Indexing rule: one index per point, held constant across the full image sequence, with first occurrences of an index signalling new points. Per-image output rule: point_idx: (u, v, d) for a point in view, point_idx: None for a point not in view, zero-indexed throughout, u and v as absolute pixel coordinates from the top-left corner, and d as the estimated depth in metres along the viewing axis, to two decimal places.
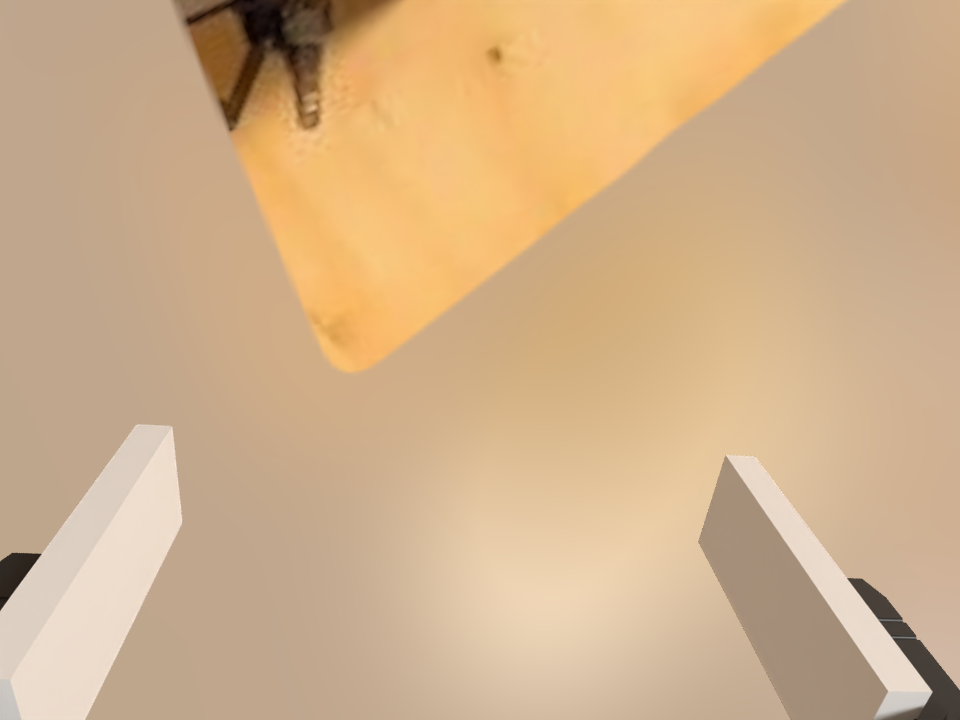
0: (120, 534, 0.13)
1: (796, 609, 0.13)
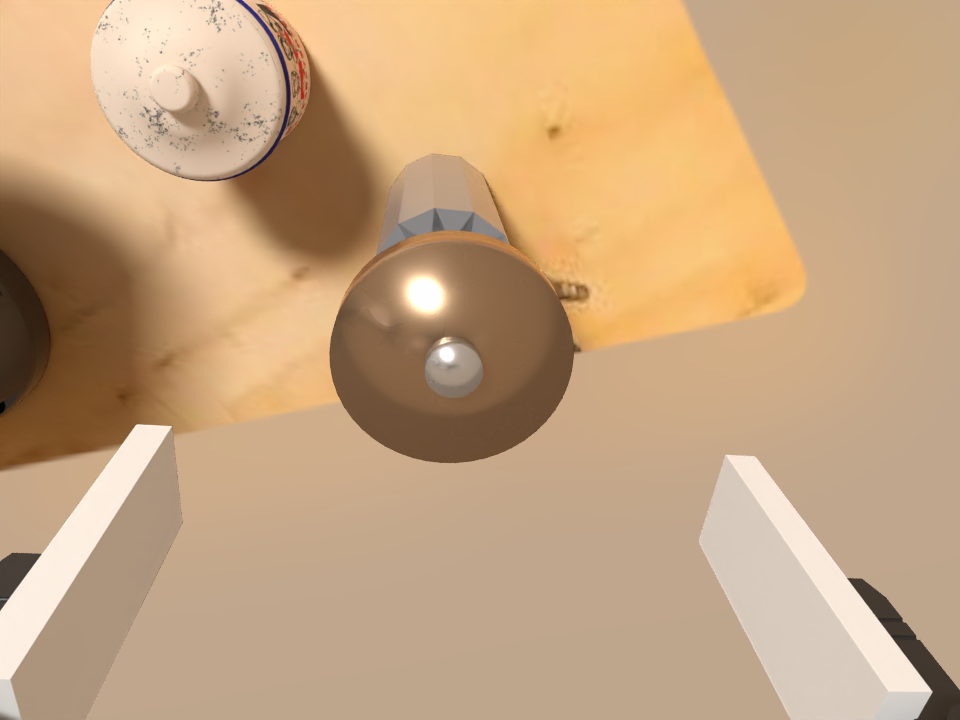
0: (120, 534, 0.13)
1: (796, 609, 0.13)
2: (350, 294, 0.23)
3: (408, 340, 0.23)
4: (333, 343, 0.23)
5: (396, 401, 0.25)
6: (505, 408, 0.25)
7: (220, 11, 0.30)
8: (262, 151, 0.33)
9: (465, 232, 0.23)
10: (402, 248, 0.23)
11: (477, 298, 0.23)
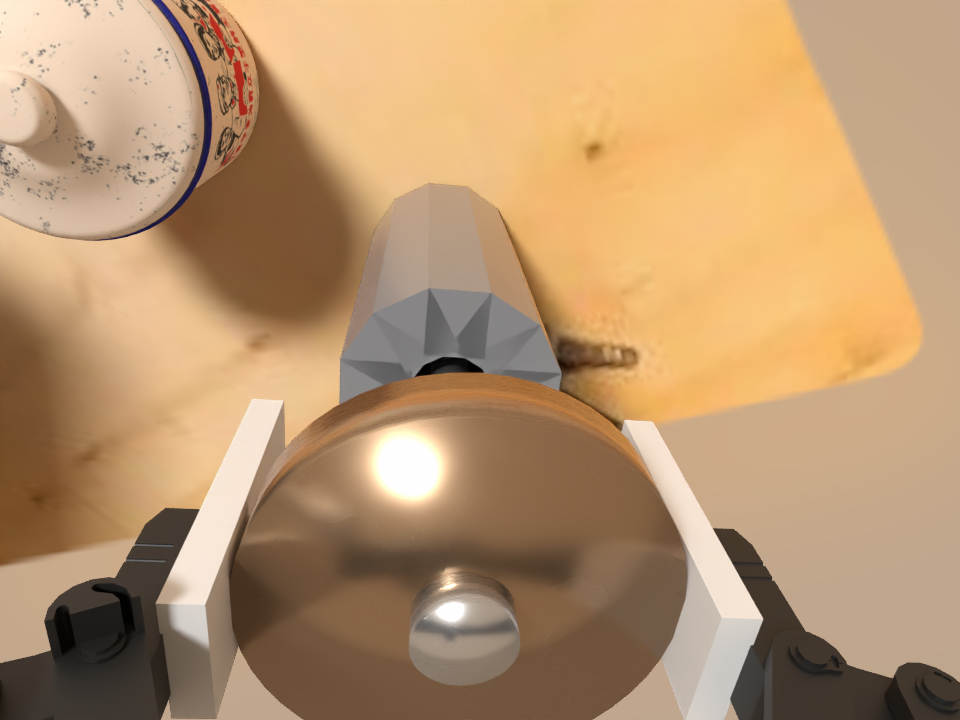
0: (257, 493, 0.14)
1: None
2: (260, 512, 0.12)
3: (377, 582, 0.12)
4: (234, 593, 0.12)
5: (360, 675, 0.13)
6: (558, 677, 0.14)
7: None
8: (172, 197, 0.22)
9: (482, 377, 0.12)
10: (360, 419, 0.12)
11: (506, 510, 0.12)
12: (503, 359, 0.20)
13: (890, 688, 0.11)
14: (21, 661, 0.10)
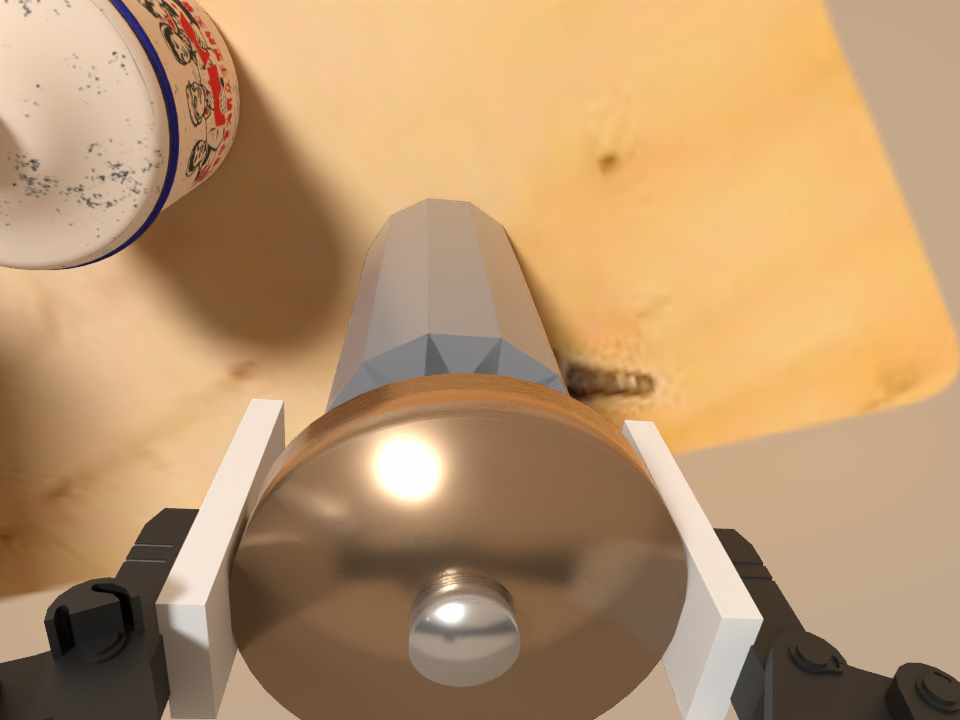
0: (256, 493, 0.14)
1: None
2: (259, 513, 0.12)
3: (377, 583, 0.12)
4: (234, 594, 0.12)
5: (360, 677, 0.13)
6: (558, 678, 0.14)
7: None
8: (133, 221, 0.19)
9: (482, 377, 0.12)
10: (359, 420, 0.12)
11: (506, 510, 0.12)
12: None
13: (890, 688, 0.11)
14: (20, 661, 0.10)
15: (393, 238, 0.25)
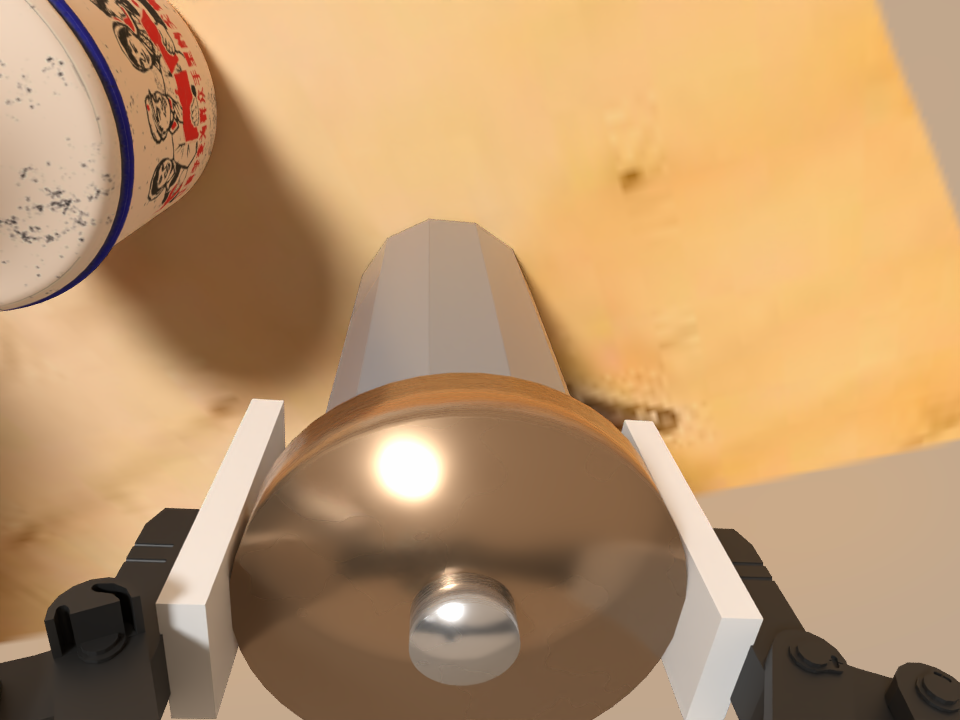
0: (257, 493, 0.14)
1: None
2: (259, 512, 0.12)
3: (377, 582, 0.12)
4: (234, 593, 0.12)
5: (360, 675, 0.13)
6: (558, 677, 0.14)
7: None
8: (80, 258, 0.16)
9: (482, 377, 0.12)
10: (360, 419, 0.12)
11: (507, 510, 0.12)
12: None
13: (891, 688, 0.11)
14: (21, 661, 0.10)
15: (389, 267, 0.22)
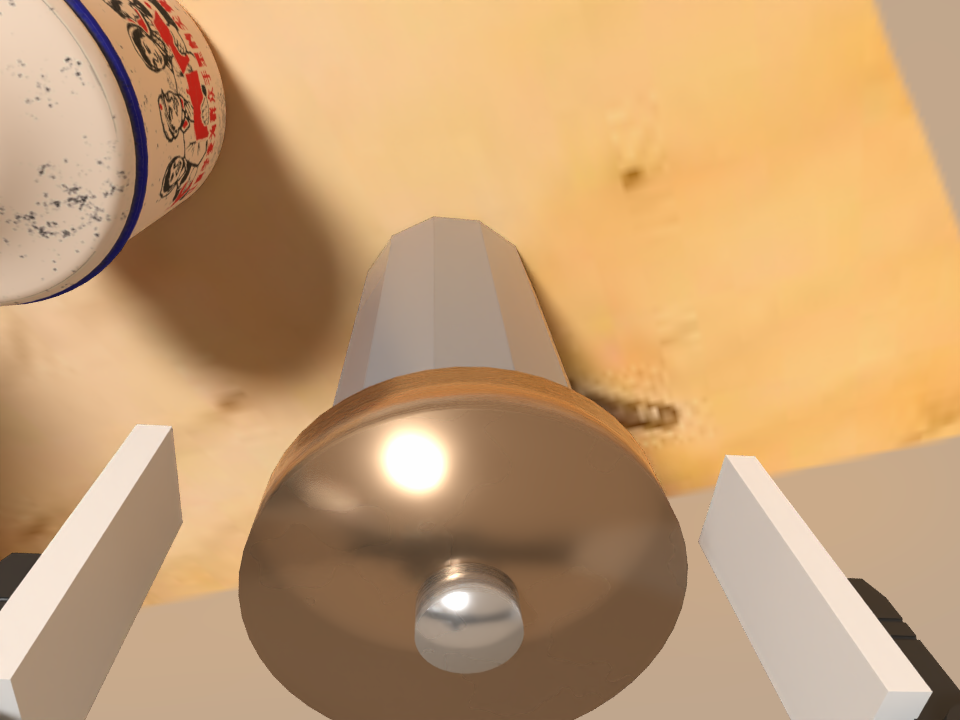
0: (120, 534, 0.13)
1: (796, 609, 0.13)
2: (269, 502, 0.12)
3: (384, 572, 0.13)
4: (244, 582, 0.13)
5: (366, 664, 0.14)
6: (560, 666, 0.14)
7: None
8: (95, 252, 0.17)
9: (487, 371, 0.13)
10: (367, 411, 0.12)
11: (511, 501, 0.12)
12: None
13: None
14: None
15: (395, 263, 0.23)
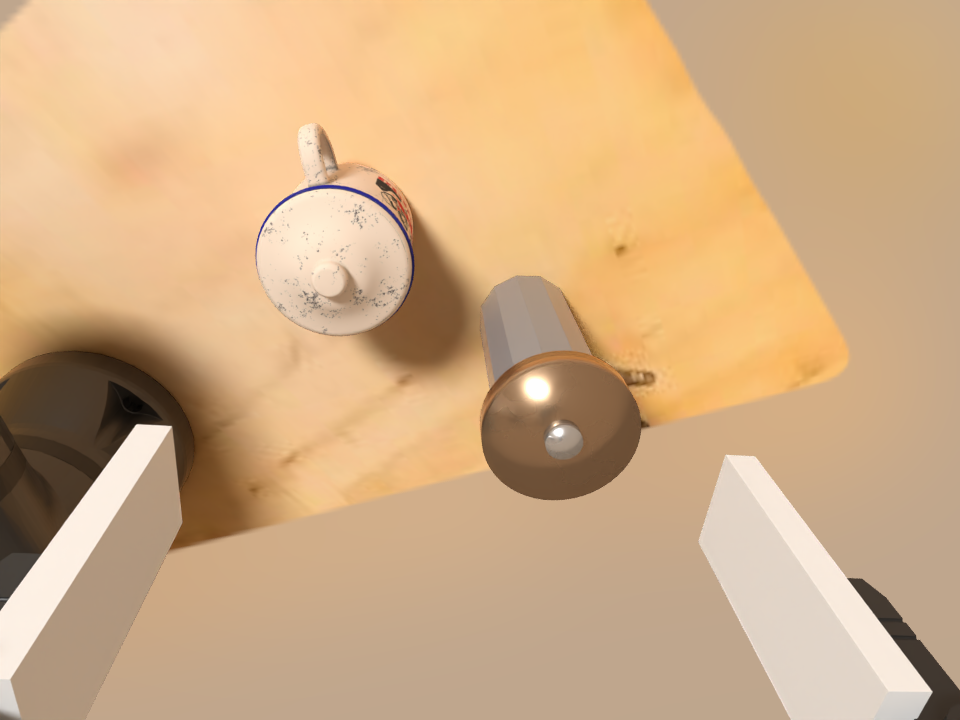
0: (120, 534, 0.13)
1: (796, 609, 0.13)
2: (496, 398, 0.35)
3: (532, 424, 0.36)
4: (484, 429, 0.36)
5: (524, 462, 0.37)
6: (596, 462, 0.37)
7: (361, 212, 0.37)
8: (393, 311, 0.40)
9: (566, 351, 0.36)
10: (527, 367, 0.35)
11: (577, 395, 0.35)
12: None
13: None
14: None
15: (503, 304, 0.46)
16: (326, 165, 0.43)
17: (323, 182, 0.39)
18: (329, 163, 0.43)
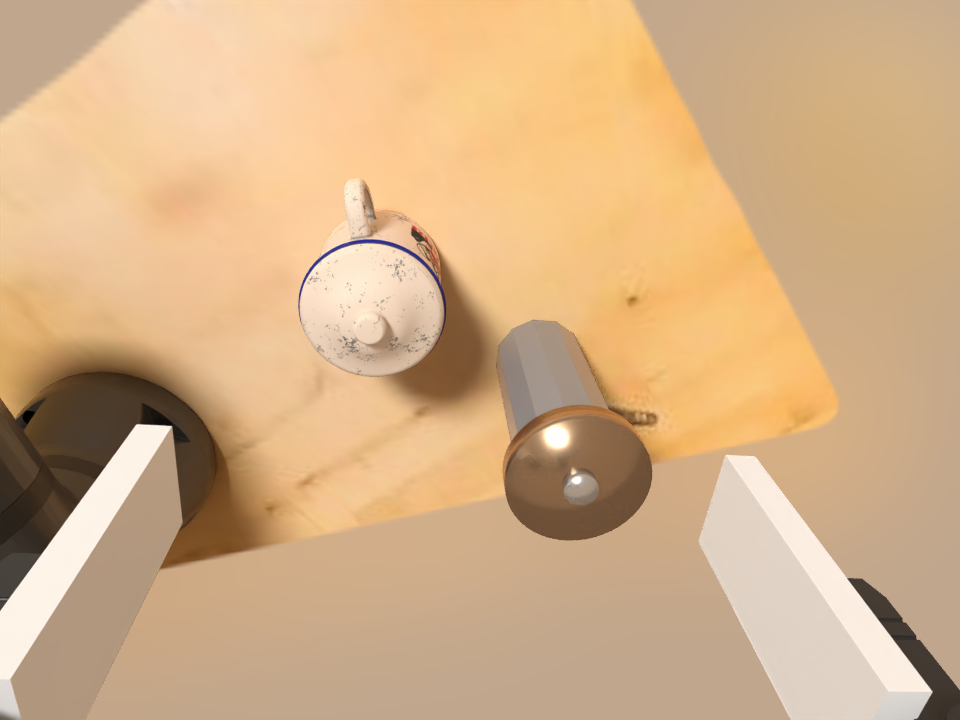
0: (120, 534, 0.13)
1: (796, 609, 0.13)
2: (521, 447, 0.38)
3: (553, 471, 0.39)
4: (508, 474, 0.39)
5: (543, 505, 0.40)
6: (609, 507, 0.40)
7: (402, 266, 0.40)
8: (423, 356, 0.43)
9: (586, 406, 0.39)
10: (551, 419, 0.38)
11: (595, 447, 0.38)
12: None
13: None
14: None
15: (522, 348, 0.49)
16: None
17: (365, 235, 0.41)
18: (368, 212, 0.46)
